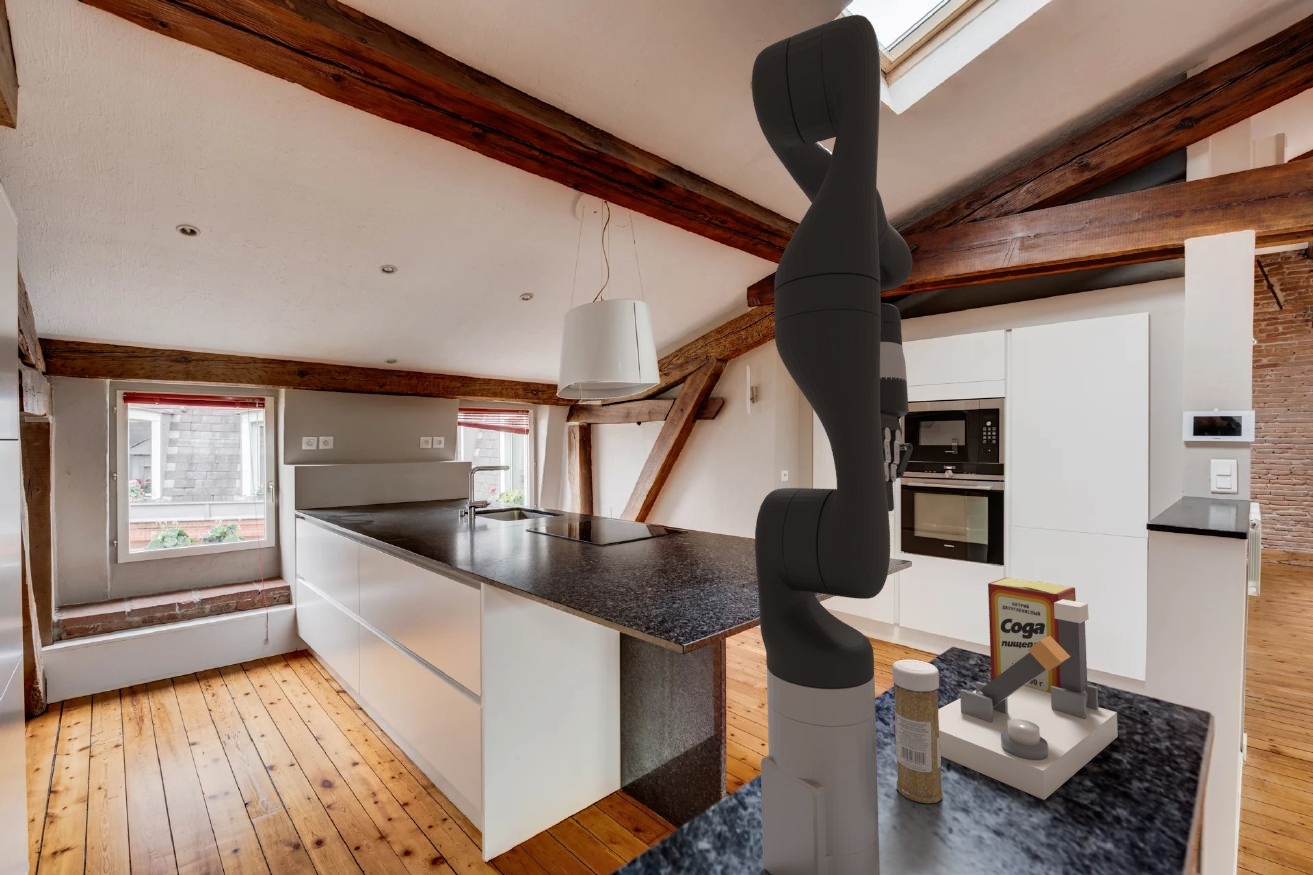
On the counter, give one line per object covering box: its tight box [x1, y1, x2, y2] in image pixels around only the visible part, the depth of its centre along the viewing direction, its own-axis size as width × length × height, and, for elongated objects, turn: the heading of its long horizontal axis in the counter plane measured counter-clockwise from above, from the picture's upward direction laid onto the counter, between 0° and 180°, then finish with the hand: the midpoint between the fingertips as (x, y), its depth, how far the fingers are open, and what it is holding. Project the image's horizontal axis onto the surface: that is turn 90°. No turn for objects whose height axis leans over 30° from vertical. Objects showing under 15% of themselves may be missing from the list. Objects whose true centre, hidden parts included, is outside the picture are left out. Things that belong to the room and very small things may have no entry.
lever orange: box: [976, 636, 1071, 707], centre depth 70 cm, size 3×3×13 cm
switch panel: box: [938, 681, 1119, 801], centre depth 72 cm, size 22×14×6 cm, turn 125°
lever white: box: [1054, 599, 1090, 702], centre depth 74 cm, size 3×3×13 cm
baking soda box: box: [987, 577, 1077, 693], centre depth 87 cm, size 10×6×16 cm
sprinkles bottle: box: [891, 659, 944, 804], centre depth 61 cm, size 5×5×13 cm
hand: (883, 511), depth 75 cm, fingers closed
